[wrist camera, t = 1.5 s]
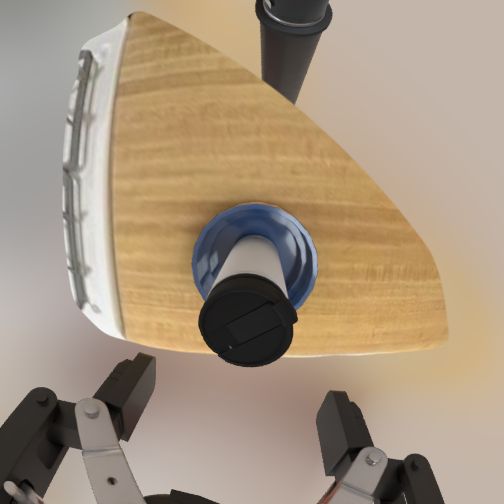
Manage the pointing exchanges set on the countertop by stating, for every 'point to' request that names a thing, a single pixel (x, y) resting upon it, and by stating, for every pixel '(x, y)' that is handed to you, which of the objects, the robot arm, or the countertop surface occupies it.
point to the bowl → (263, 223)
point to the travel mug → (249, 306)
